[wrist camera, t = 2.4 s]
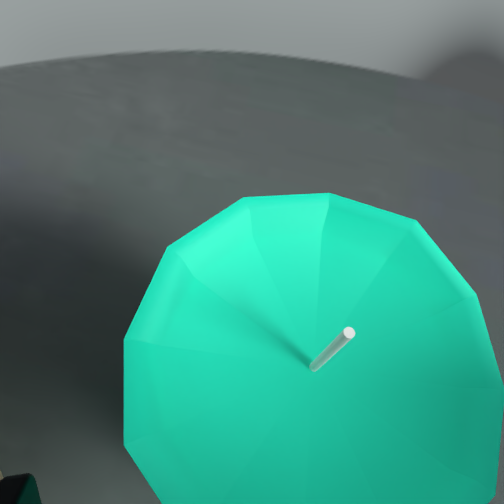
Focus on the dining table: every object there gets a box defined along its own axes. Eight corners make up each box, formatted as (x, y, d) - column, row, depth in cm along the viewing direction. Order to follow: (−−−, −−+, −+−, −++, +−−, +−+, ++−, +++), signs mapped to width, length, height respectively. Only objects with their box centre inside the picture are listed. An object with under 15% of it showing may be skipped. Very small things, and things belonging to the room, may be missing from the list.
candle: (237, 311, 18) (287, 71, 7) (367, 409, 17) (652, 296, 6) (128, 444, 16) (-30, 378, 5) (272, 569, 15) (465, 829, 4)
